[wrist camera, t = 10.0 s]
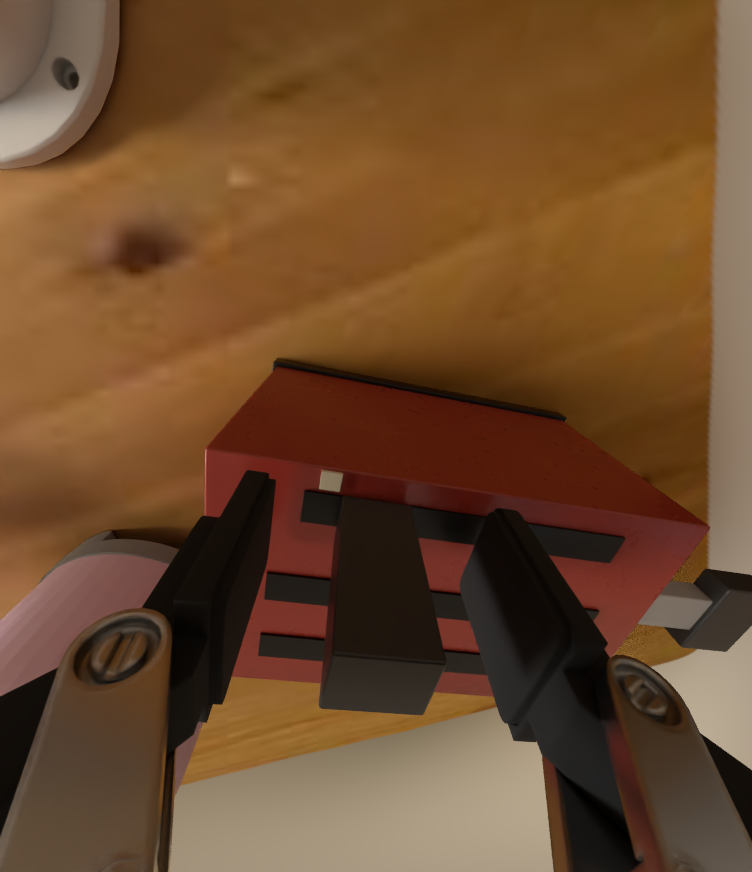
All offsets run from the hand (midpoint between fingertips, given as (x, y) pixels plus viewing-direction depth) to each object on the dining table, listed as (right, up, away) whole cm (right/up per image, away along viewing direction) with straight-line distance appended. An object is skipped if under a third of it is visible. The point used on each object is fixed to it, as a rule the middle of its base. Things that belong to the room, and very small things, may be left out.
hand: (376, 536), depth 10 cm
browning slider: (0, 0, +1) cm, 1 cm away
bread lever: (+13, -4, +6) cm, 15 cm away
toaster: (+2, +1, +12) cm, 12 cm away
